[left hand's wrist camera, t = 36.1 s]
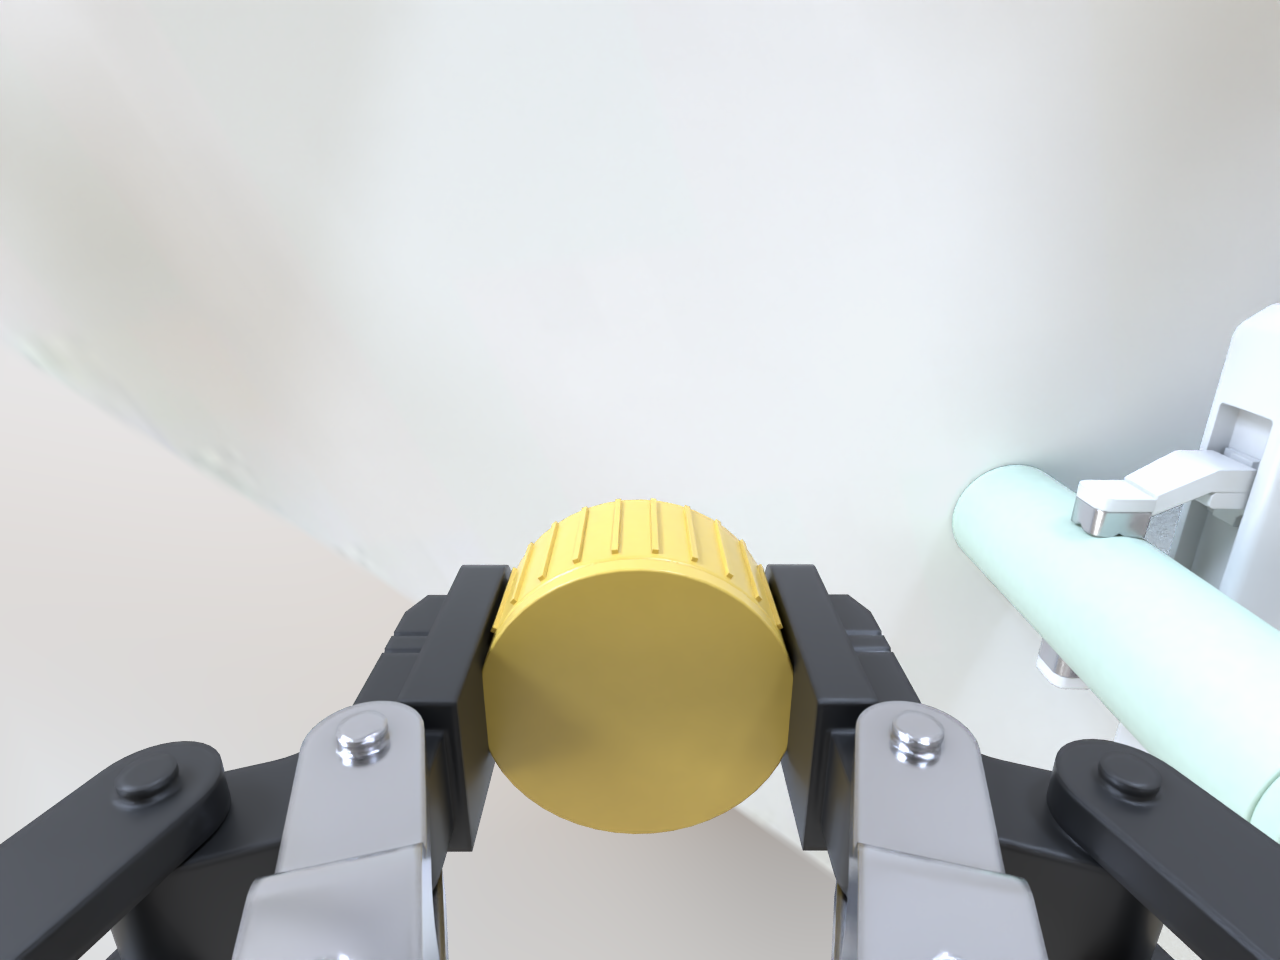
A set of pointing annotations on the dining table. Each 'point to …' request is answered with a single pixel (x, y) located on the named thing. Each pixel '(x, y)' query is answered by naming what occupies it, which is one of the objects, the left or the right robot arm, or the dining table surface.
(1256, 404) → the right robot arm
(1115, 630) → the bottle
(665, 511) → the cap
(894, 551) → the dining table surface
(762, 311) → the dining table surface
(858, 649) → the left robot arm
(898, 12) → the dining table surface
